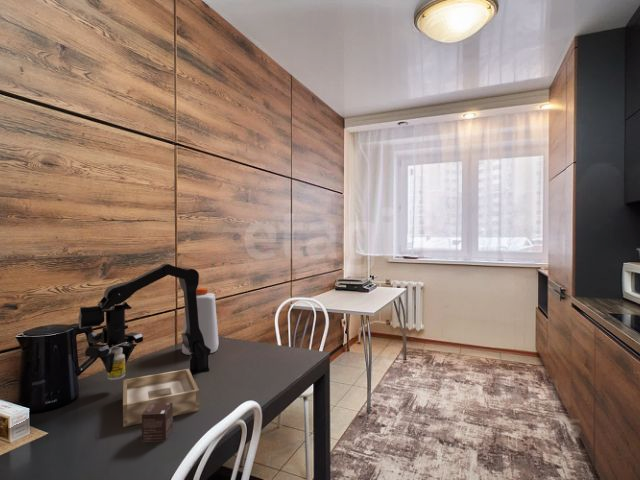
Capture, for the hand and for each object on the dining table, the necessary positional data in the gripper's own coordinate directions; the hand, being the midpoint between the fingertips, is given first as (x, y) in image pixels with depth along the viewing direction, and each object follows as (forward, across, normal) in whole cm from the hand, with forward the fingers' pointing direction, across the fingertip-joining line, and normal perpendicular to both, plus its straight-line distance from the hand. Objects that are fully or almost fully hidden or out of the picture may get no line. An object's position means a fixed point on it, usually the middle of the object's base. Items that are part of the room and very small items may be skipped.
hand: (116, 369), depth 123 cm
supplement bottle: (+3, 0, 0) cm, 3 cm away
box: (+7, +19, +33) cm, 39 cm away
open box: (+7, +4, +21) cm, 23 cm away
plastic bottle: (+7, -45, +2) cm, 46 cm away
